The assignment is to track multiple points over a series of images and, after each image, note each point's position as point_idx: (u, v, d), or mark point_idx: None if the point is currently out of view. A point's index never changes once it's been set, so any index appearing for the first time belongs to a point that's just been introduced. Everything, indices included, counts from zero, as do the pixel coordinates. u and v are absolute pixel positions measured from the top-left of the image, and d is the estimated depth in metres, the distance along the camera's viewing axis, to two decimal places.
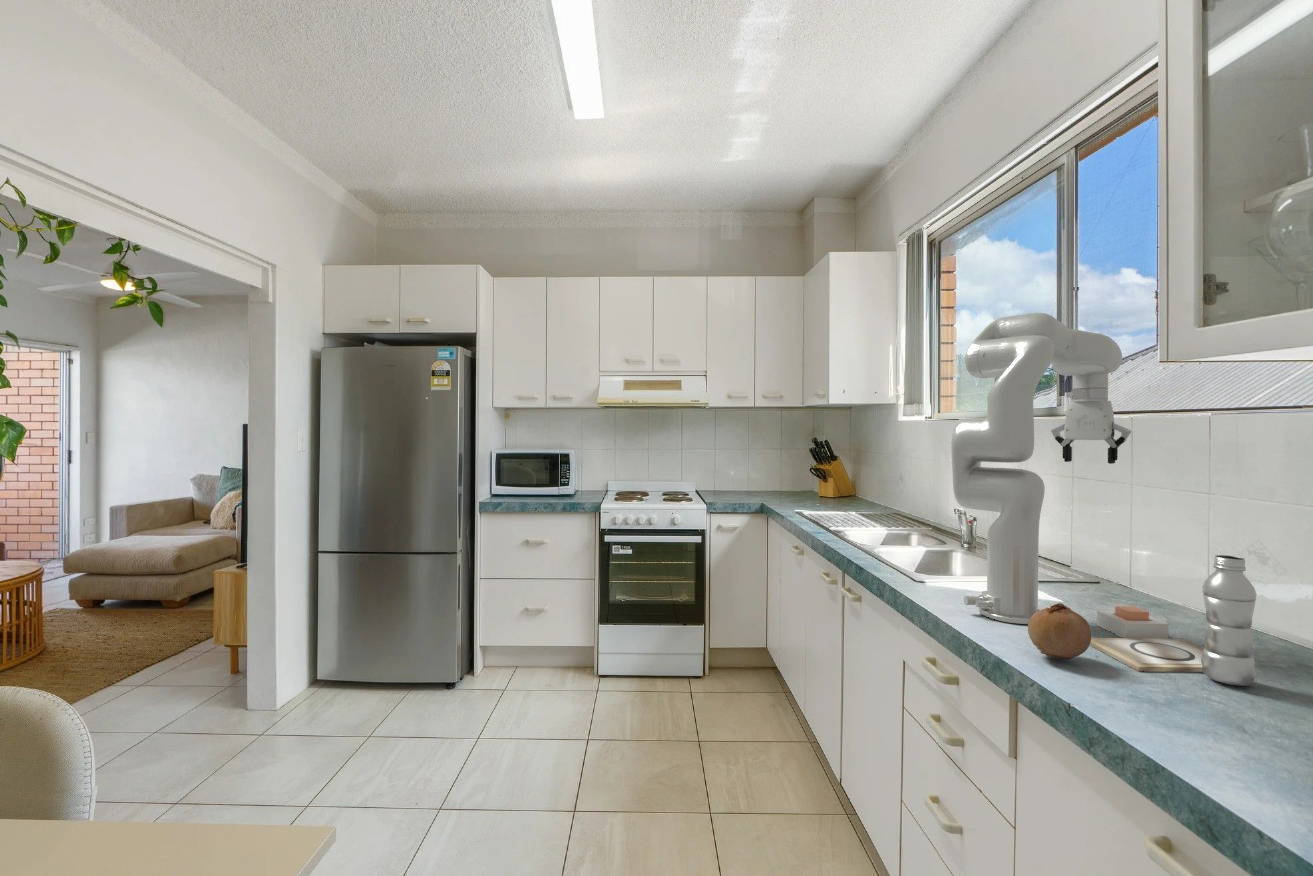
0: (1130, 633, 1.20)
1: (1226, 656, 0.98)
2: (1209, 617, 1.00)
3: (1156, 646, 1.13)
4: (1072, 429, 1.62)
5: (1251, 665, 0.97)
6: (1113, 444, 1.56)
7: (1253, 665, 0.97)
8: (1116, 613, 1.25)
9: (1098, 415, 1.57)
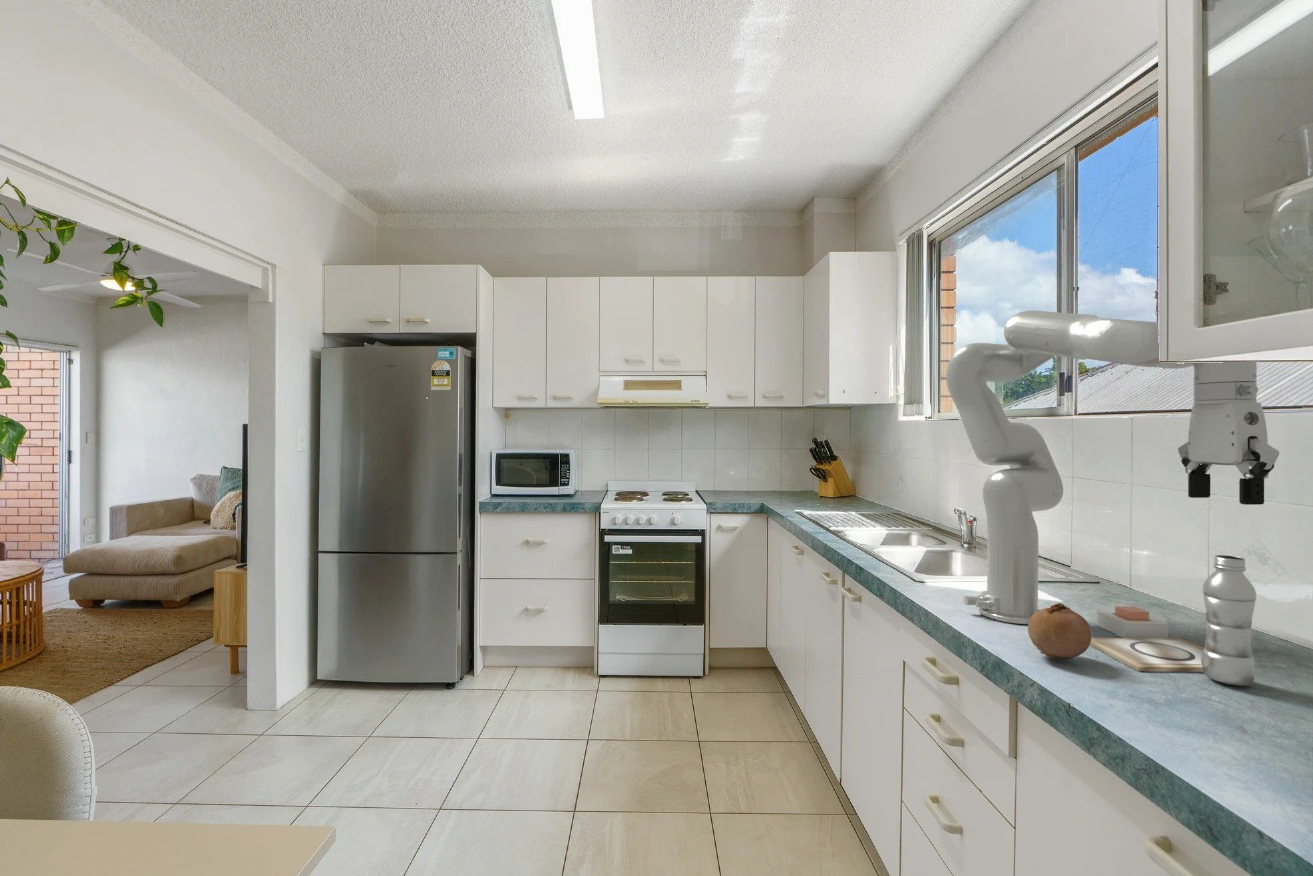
0: (1130, 633, 1.20)
1: (1226, 656, 0.98)
2: (1209, 617, 1.00)
3: (1156, 646, 1.13)
4: None
5: (1251, 665, 0.97)
6: None
7: (1253, 665, 0.97)
8: (1116, 613, 1.25)
9: None
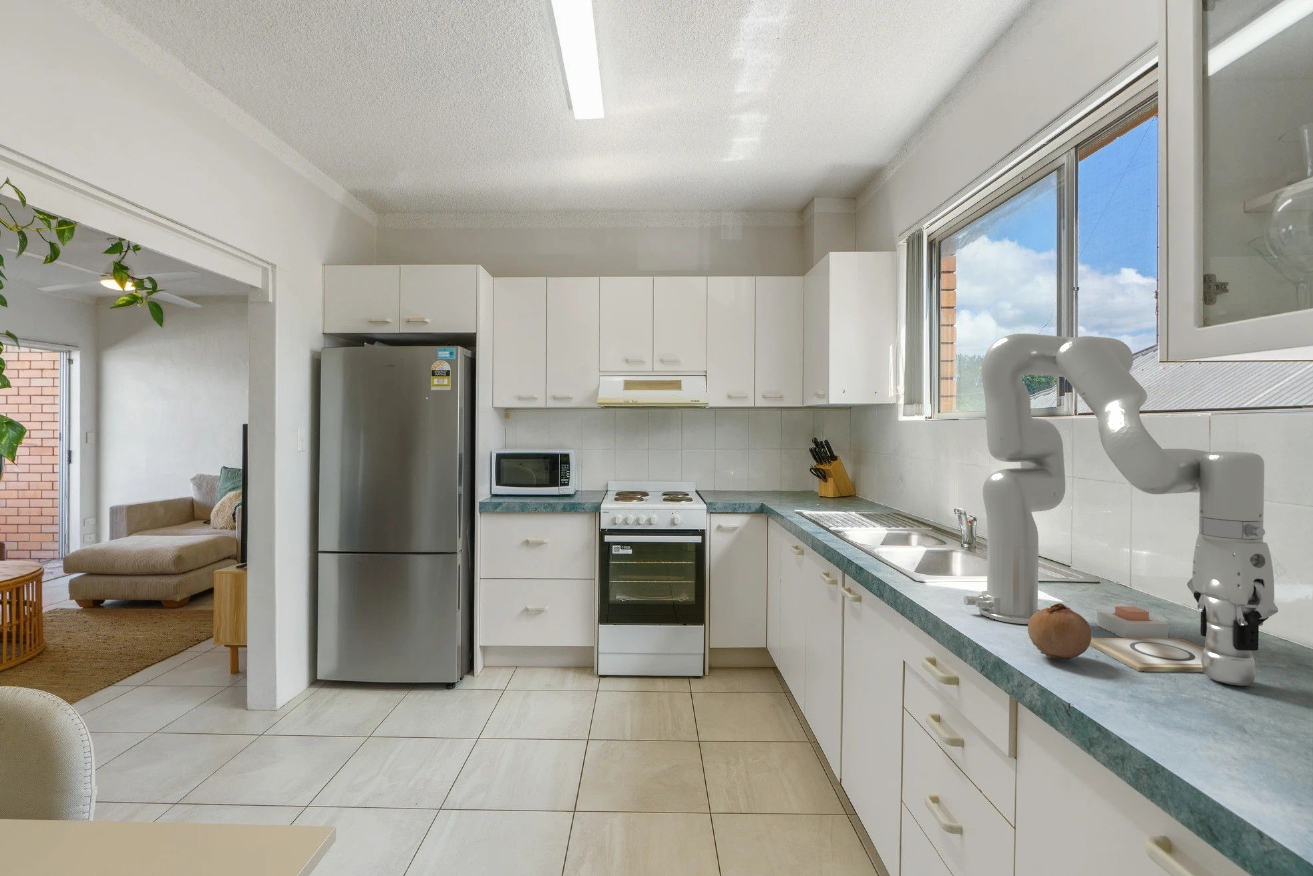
0: (1130, 633, 1.20)
1: (1226, 657, 0.98)
2: (1210, 617, 1.00)
3: (1156, 646, 1.13)
4: None
5: (1251, 665, 0.97)
6: None
7: (1253, 665, 0.97)
8: (1116, 613, 1.25)
9: None
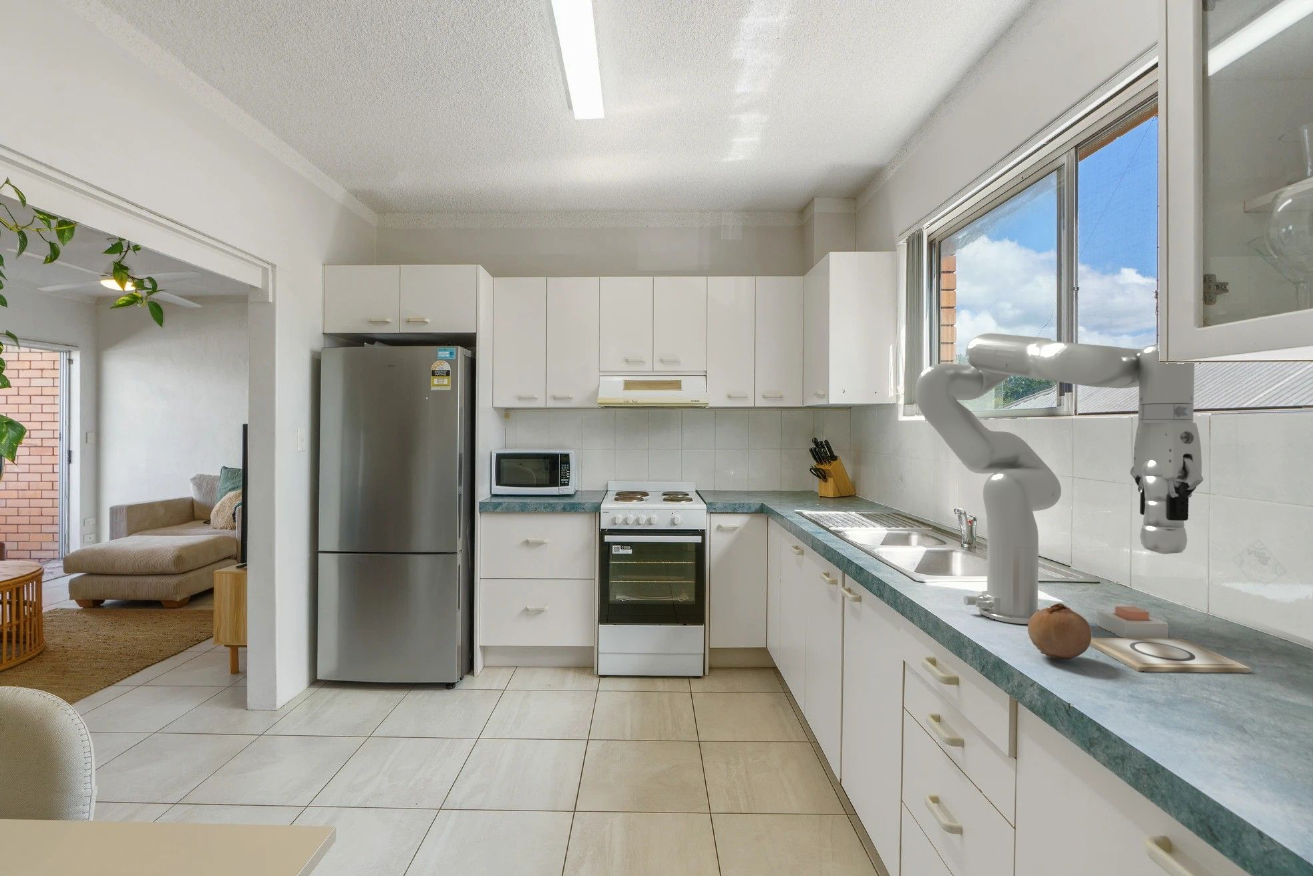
0: (1130, 633, 1.20)
1: (1160, 527, 1.08)
2: (1147, 495, 1.11)
3: (1156, 646, 1.13)
4: None
5: (1182, 534, 1.07)
6: None
7: (1184, 534, 1.07)
8: (1116, 613, 1.25)
9: None
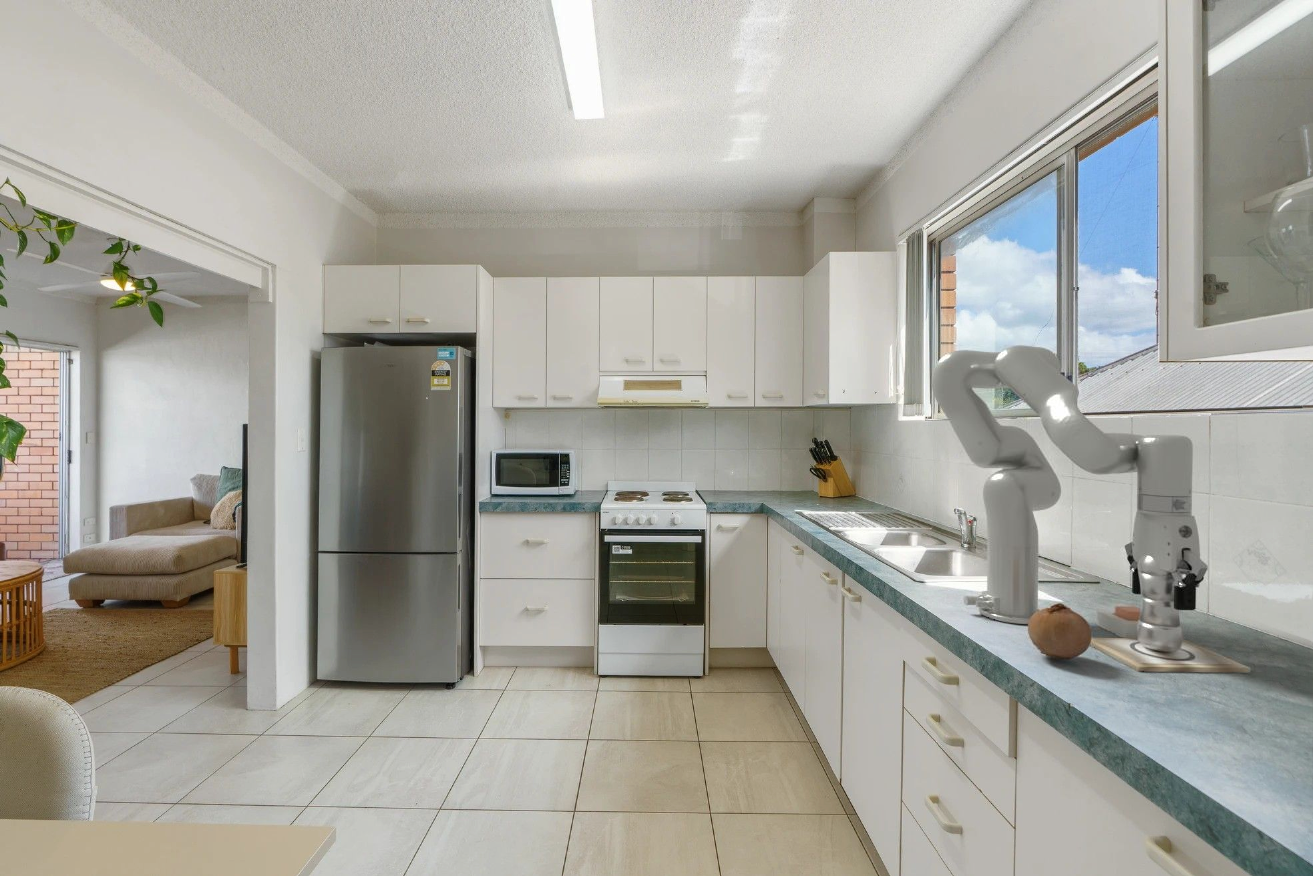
0: (1130, 633, 1.20)
1: (1156, 626, 1.09)
2: (1143, 591, 1.12)
3: None
4: None
5: (1178, 633, 1.08)
6: None
7: (1180, 633, 1.08)
8: (1116, 613, 1.25)
9: None
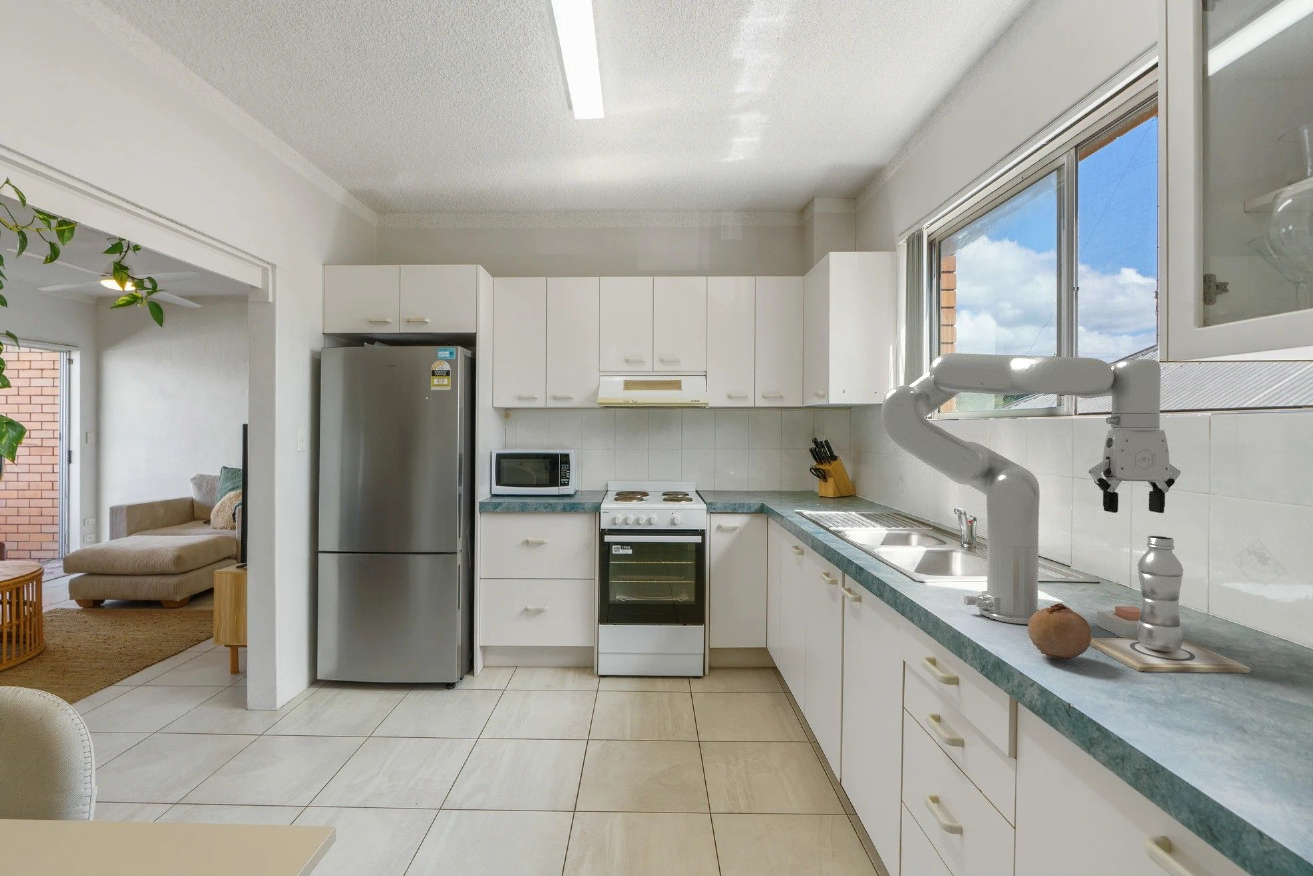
0: (1130, 633, 1.20)
1: (1156, 626, 1.09)
2: (1143, 591, 1.12)
3: None
4: (1128, 467, 1.20)
5: (1178, 633, 1.08)
6: (1165, 488, 1.21)
7: (1180, 633, 1.08)
8: (1116, 613, 1.25)
9: (1159, 449, 1.20)
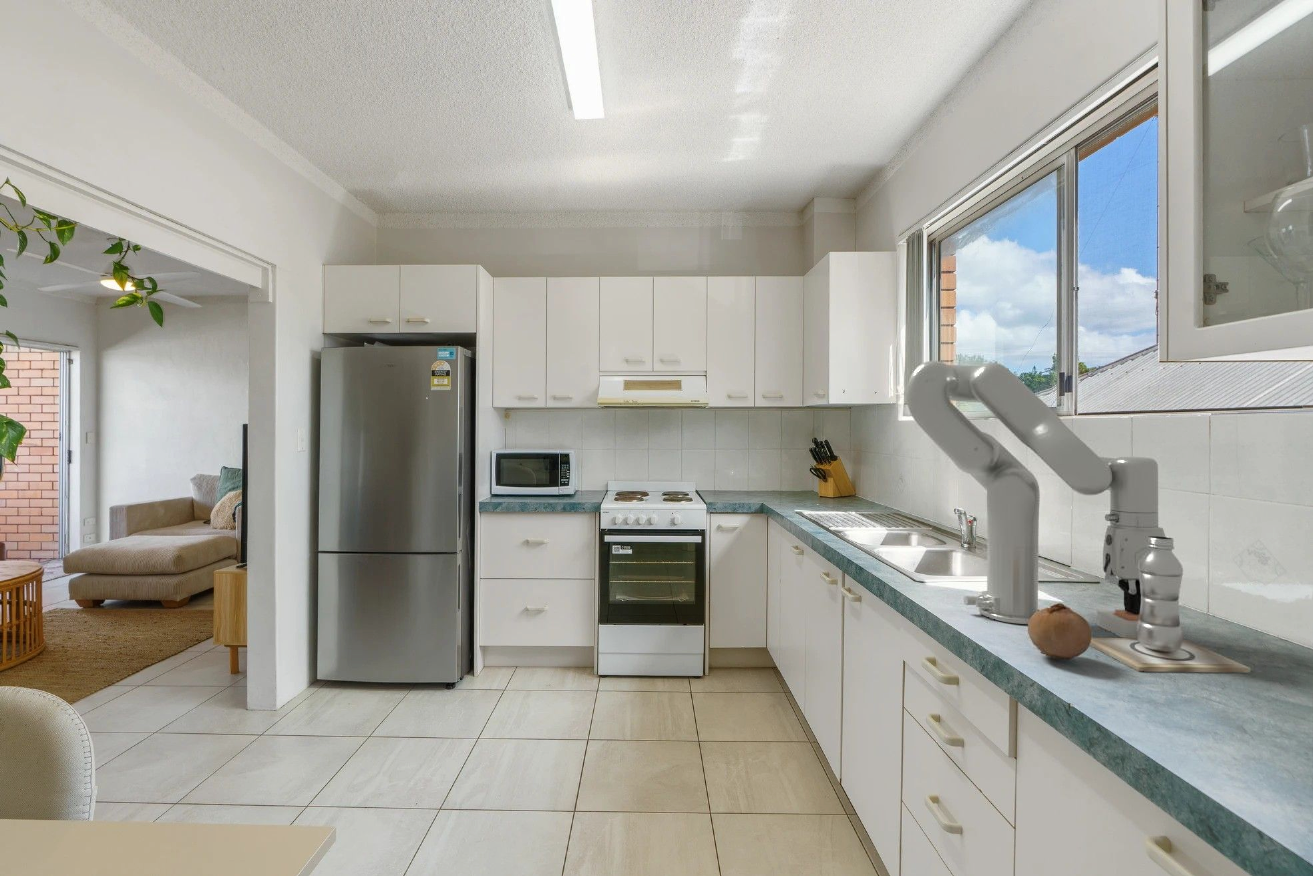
0: (1130, 633, 1.20)
1: (1156, 626, 1.09)
2: (1143, 591, 1.12)
3: None
4: (1128, 566, 1.20)
5: (1178, 633, 1.08)
6: None
7: (1180, 633, 1.08)
8: None
9: None
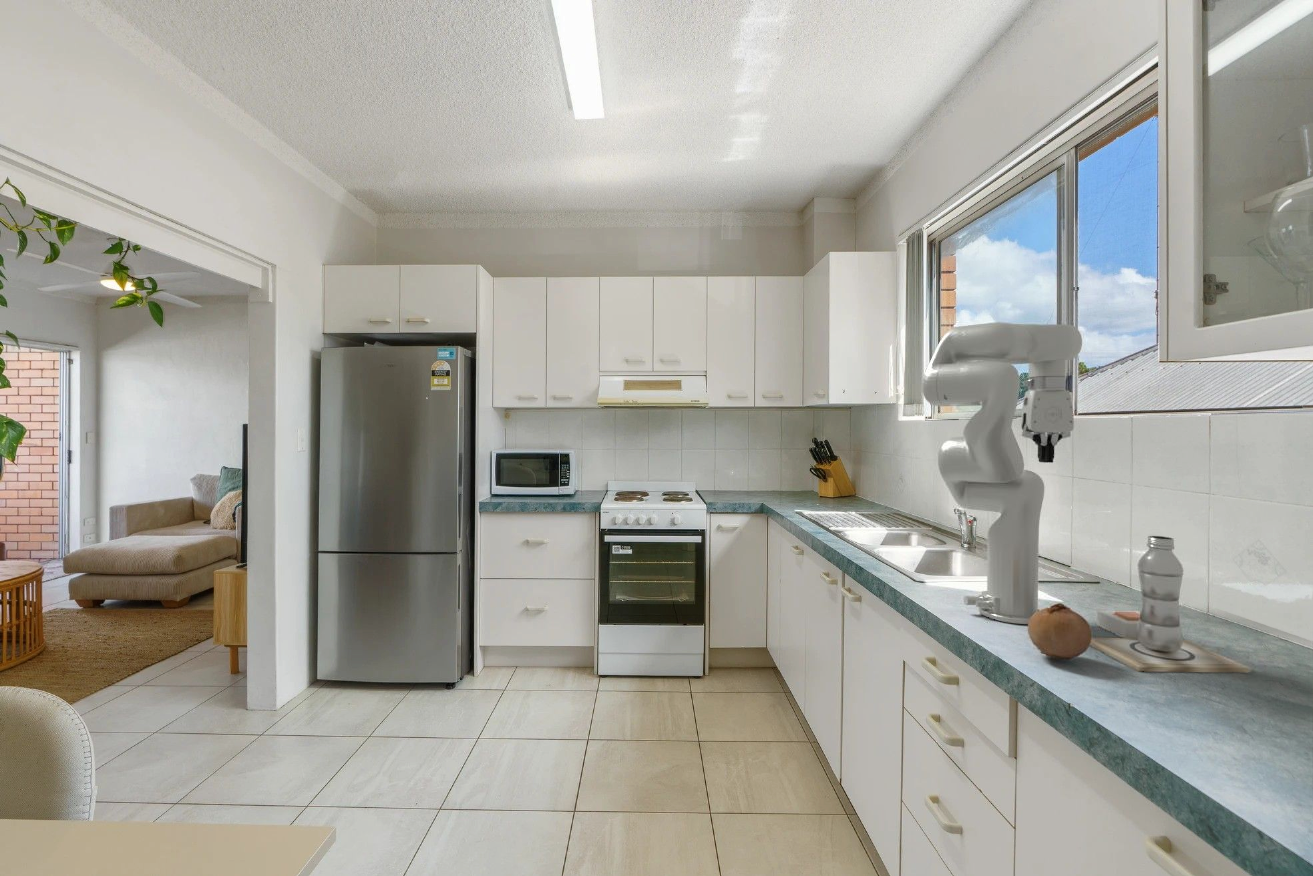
0: (1130, 633, 1.20)
1: (1156, 626, 1.09)
2: (1143, 591, 1.12)
3: None
4: (1040, 421, 1.46)
5: (1178, 633, 1.08)
6: (1055, 442, 1.47)
7: (1180, 633, 1.08)
8: None
9: (1065, 406, 1.46)
